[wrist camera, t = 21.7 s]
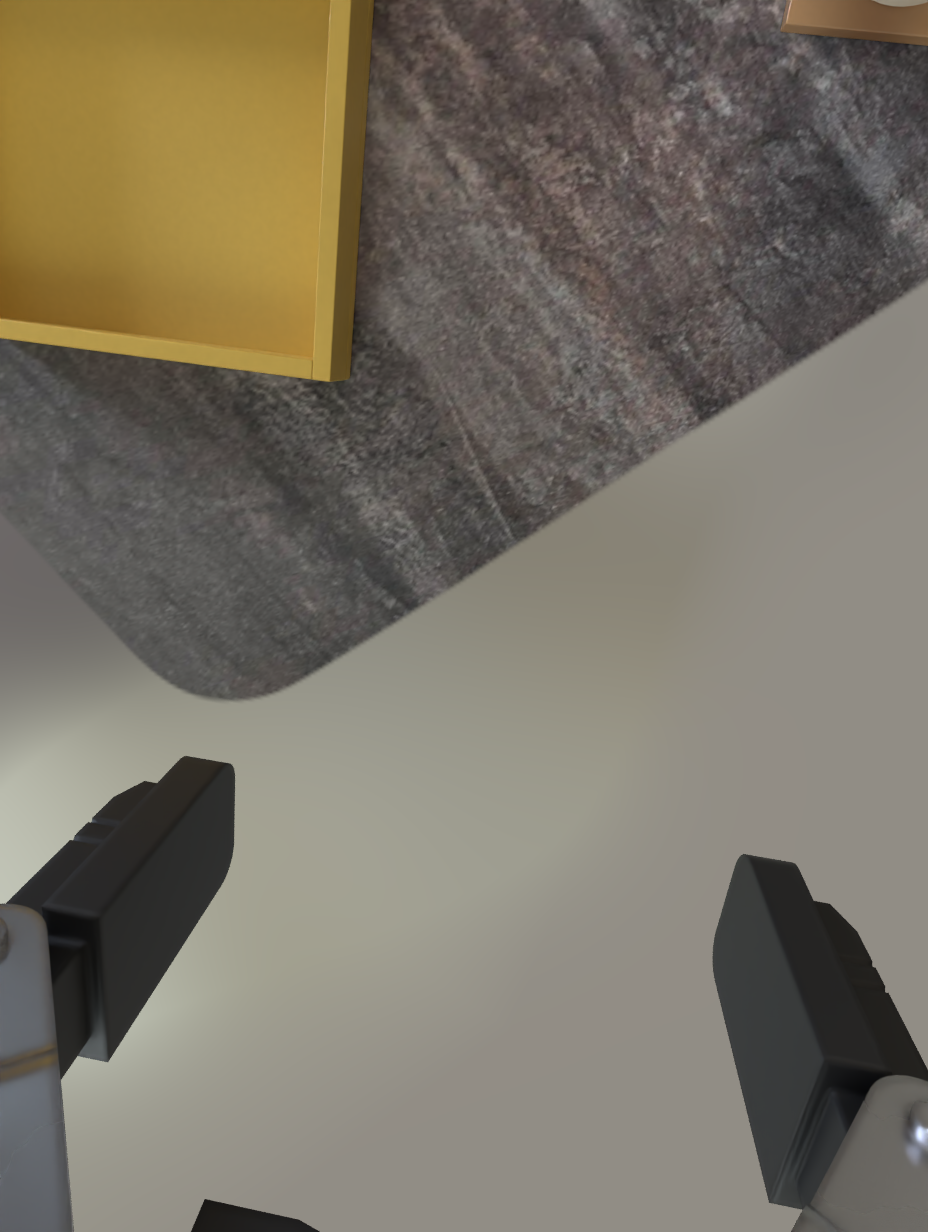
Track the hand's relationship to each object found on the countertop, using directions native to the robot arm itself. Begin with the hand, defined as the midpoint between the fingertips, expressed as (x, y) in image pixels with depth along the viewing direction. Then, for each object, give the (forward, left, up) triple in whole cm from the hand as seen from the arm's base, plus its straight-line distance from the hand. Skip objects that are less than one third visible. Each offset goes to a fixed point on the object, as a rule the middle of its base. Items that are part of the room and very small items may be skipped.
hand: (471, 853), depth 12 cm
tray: (+18, -13, -26) cm, 34 cm away
